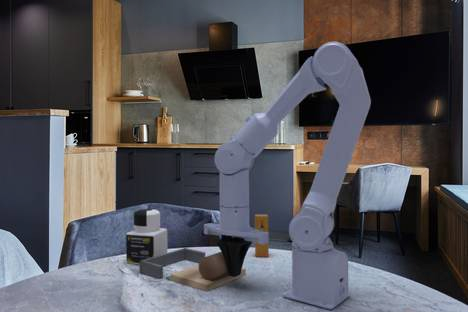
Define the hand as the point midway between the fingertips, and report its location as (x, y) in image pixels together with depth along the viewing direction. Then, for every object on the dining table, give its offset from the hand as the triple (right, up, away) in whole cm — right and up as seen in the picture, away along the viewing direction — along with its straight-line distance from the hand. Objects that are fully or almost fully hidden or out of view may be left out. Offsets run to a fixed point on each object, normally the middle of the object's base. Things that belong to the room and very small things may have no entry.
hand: (234, 275), depth 77 cm
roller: (-3, +2, +2) cm, 4 cm away
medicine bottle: (-21, -2, +16) cm, 26 cm away
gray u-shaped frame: (-14, -2, +11) cm, 17 cm away
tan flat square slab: (-6, -2, +5) cm, 8 cm away
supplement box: (+7, -1, +20) cm, 21 cm away
